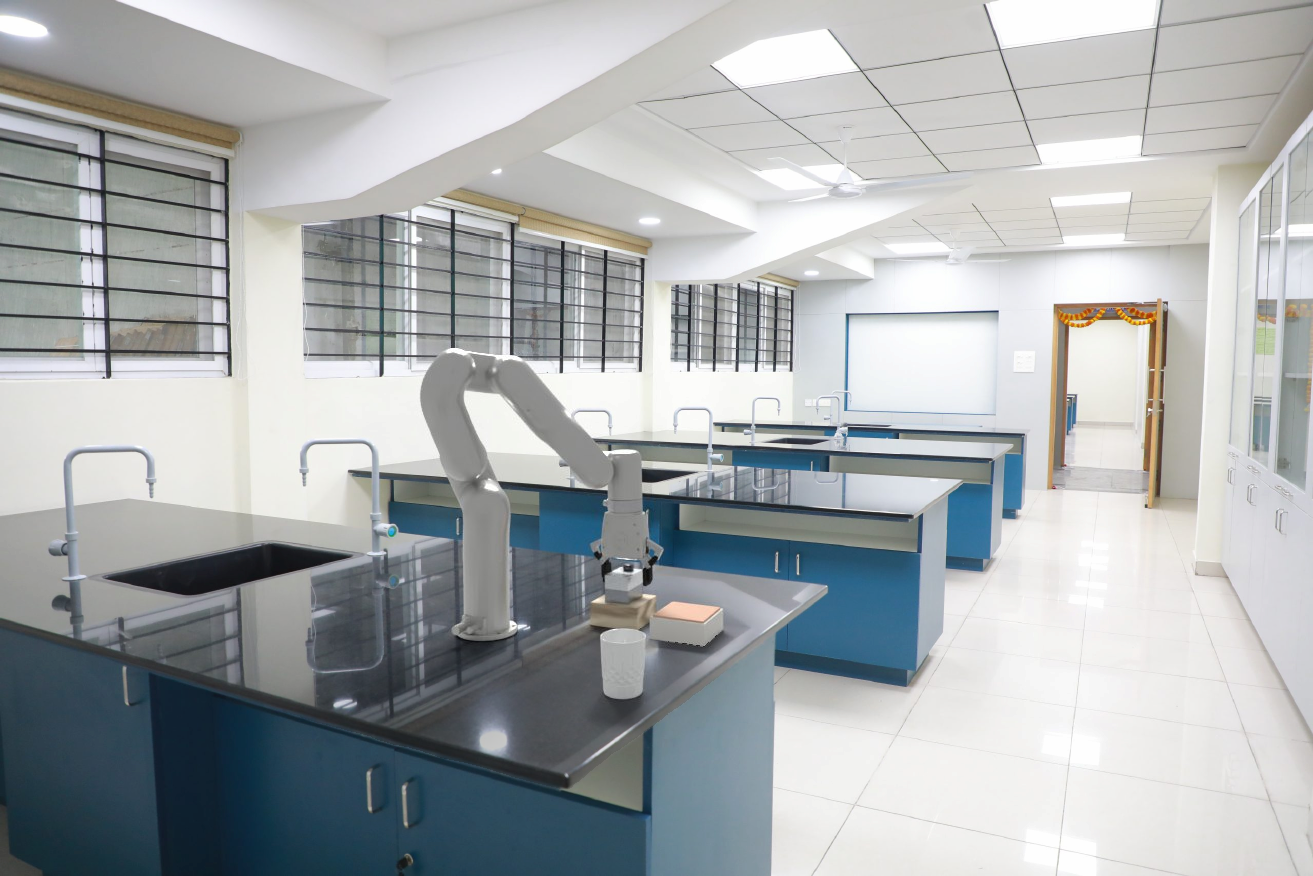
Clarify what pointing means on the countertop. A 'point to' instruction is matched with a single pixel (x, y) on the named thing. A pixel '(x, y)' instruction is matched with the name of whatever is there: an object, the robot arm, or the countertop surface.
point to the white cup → (623, 662)
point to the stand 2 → (686, 623)
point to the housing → (624, 585)
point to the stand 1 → (623, 613)
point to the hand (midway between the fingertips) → (627, 582)
